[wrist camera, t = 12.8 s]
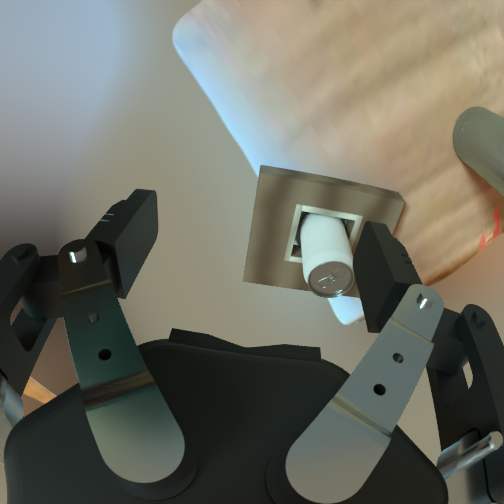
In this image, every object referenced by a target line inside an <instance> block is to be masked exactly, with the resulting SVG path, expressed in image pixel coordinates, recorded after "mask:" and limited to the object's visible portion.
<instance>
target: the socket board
mask: <svg viewBox="0 0 504 504" xmlns="http://www.w3.org/2000/svg"><path fill="white" fill-rule="evenodd" d="M404 204H405V201H404V200H403V198H402V197H401V195H400V194H399V192H395V191H390V190H386V189H382V188H378V187H373V186H369V185H365V184H360V183H356V182H351V181H346V180H341V179H337V178H332V177H327V176H321V175H316V174H311V173H305V172H300V171H294V170H288V169H282V168H276V167H270V166H264V165H261V166H260V172H259V178H258V185H257V191H256V198H255V205H254V212H253V219H252V225H251V232H250V238H249V244H248V251H247V257H246V265H245V271H244V278H243V282H250V283H256V284H263V285H270V286H277V287H284V288H291V289H298V290H305V291H311V290H310V289H309V287H308V284H307V282H306V281H305V278H304V274H303V263H302V250H301V246H299V245H293V244H294V240H295V236H296V232H297V228H298V224H299V220H300V216H301V211H305V212H311V213H316V214H322V215H328V216H333V217H339V218H344V219H348V222H347V225H346V228H345V231H346V234H347V237H348V241H349V244H350V248H351V251H352V255H353V256H354V253H355V250H356V247H357V244H358V241H359V238H360V236H361V233H362V230H363V227H364V224H365V223H366V221H374V222H379V223H384V224H386V225H387V227H388V229H389V231H390V233H391V235H392V234H393V232H394V229H395V227H396V224H397V222H398V219H399V217H400V214H401V212H402V209H403V207H404ZM342 296H350V297H358V298H360V295H359V291H358V287H357V283H356V279H355V275H354V283H353V285H352V287H351V288H350V289H349V290H348V291H347V292H346V293H344V294H342Z"/></svg>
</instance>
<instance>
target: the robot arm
mask: <svg viewBox="0 0 504 504" xmlns="http://www.w3.org/2000/svg"><path fill="white" fill-rule="evenodd" d="M453 143H454V148H455V151H456V153H457V155H458V157H459V158H460V159H461V160H462V161H463V162H464V163H465V164H467V165H468V166H469V167H470V168H472V169H473V170H474V171H475V172H476V173H477V174H479V175H480V176H481V177H482V178H483V179H484V180H486V181H487V182H488V183H489V184H490V185H491V186H492V187H493V188H495V189H496V190H497V191H498V192H499V193H500V194H501V195H502V196H503V197H504V117H502V116H500V115H498V114H496V113H493V112H491V111H489V110H487V109H485V108H481V107H473V108H470V109H468V110H466V111H465V112H464V113H463V114H462V115H461V116H460V117H459V119H458V120H457V122H456V125H455V128H454V133H453ZM157 234H158V211H157V195H156V192H155V190H145V189H136V190H135V191H134V192H133V193H132V194H131V195H130V196H129V197H128V199H127V200H121V201H120V202H118V203H116V204H114V205H113V206H112V207H111V208H110V209H109V210H108V211H107V212H106V215H104V216H103V217H102V218H101V221H99V222H98V223H97V224H96V225H95V227H94V228H93V229H92V230H91V231H90V233H89V234H88V235H87V237H86V238H85V239H76V240H73V241H70V242H68V243H66V244H65V245H64V246H63V247H61V248H60V250H59V252H58V254H57V255H49V256H39V253H38V250H37V248H36V246H35V245H33V244H29V243H25V244H20V245H17V246H15V247H13V248H11V249H10V250H9V251H8V252H7V253H6V254H5V255H4V256H3V257H2V259H1V260H0V464H1V465H3V466H4V468H5V474H6V482H7V504H504V345H503V343H502V341H501V339H500V336H499V334H498V331H497V329H496V327H495V325H494V322H493V320H492V318H491V317H490V315H489V314H488V313H487V312H486V311H485V310H484V309H482V308H481V307H479V306H477V305H474V304H468V305H467V306H465V308H464V309H463V311H462V312H461V314H460V313H457V312H454V311H452V310H449V309H446V308H444V303H443V300H442V299H441V297H440V296H439V294H438V293H437V292H435V291H434V290H433V289H431V288H429V287H428V286H425V285H423V284H422V282H421V280H420V278H419V276H418V274H417V272H416V269H415V267H414V265H413V264H412V261H411V259H410V257H408V256H409V255H408V253H407V251H406V249H405V247H404V246H403V245H402V244H401V243H400V242H399V241H398V240H397V239H396V238H393V237H392V235H391V233H390V231H389V229H388V227H387V225H386V224H384V223H379V222H374V221H366V223H365V224H364V227H363V230H362V233H361V236H360V238H359V241H358V244H357V247H356V250H355V253H354V256H353V271H354V275H355V279H356V283H357V287H358V291H359V295H360V299H361V303H362V307H363V311H364V316H365V320H366V324H367V329H368V332H371V333H380V334H379V335H378V337H377V338H376V340H375V341H374V343H373V344H372V346H371V347H370V349H369V350H368V351H367V353H366V354H365V356H364V357H363V359H362V360H361V361H360V363H359V364H358V366H357V367H356V368H355V370H354V371H353V372H352V374H351V375H350V374H349V373H348V372H346V371H345V370H344V369H342V368H341V367H339V366H337V365H335V364H333V363H331V362H329V361H326V360H324V359H321V352H320V347H308V346H298V345H288V344H282V345H272V346H261V347H248V348H247V347H242V346H239V345H236V344H233V343H231V342H228V341H225V340H222V339H219V338H217V337H214V336H211V335H209V334H204V333H197V332H192V331H186V330H180V329H174V328H172V330H171V333H170V336H169V339H160V340H154V341H150V342H146V343H143V344H140V345H138V346H137V345H136V342H135V340H134V338H133V335H132V333H131V331H130V328H129V326H128V323H127V321H126V319H125V316H124V314H123V311H122V309H121V306H120V303H119V301H118V298H122V299H126V297H127V295H128V292H129V291H130V289H131V287H132V285H133V283H134V281H135V279H136V277H137V275H138V273H139V271H140V269H141V267H142V265H143V264H144V262H145V260H146V258H147V256H148V254H149V252H150V250H151V249H152V247H153V245H154V243H155V241H156V238H157ZM18 301H20V303H21V306H22V309H21V310H20V312H19V314H18V315H17V317H16V319H15V320H14V322H13V324H12V326H11V325H10V317H11V313H12V311H13V310H14V308H15V306H16V304H17V303H18ZM58 317H63V318H64V323H65V328H66V333H67V337H68V342H69V346H70V350H71V355H72V358H73V362H74V366H75V370H76V373H77V377H78V381H79V383H77V384H76V385H74V386H72V387H71V388H69V389H68V390H66V391H65V392H63V393H62V394H60V395H58V396H57V397H55V398H54V399H52V400H50V401H49V402H47V403H46V404H44V405H42V406H41V407H39V408H38V409H36V410H35V411H33V412H31V413H30V414H28V415H27V416H25V417H24V416H23V412H24V407H23V406H24V405H23V401H22V398H21V396H22V393H23V391H24V389H25V386H26V384H27V382H28V379H29V377H30V374H31V372H32V370H33V368H34V366H35V363H36V361H37V359H38V357H39V354H40V352H41V350H42V348H43V346H44V344H45V342H46V340H47V338H48V336H49V334H50V332H51V330H52V328H53V326H54V324H55V322H56V320H57V318H58ZM468 361H469V364H470V367H471V370H472V374H473V381H472V385H471V387H470V388H469V389H468V385H467V382H466V378H465V375H464V371H463V367H464V365H465V364H466V363H467V362H468ZM425 366H426V369H427V373H428V378H429V382H430V387H431V392H432V397H433V402H434V407H435V413H436V419H437V424H438V431H439V438H440V445H441V454H440V455H439V457H438V460H437V467H436V466H435V465H434V464H433V463H432V462H431V461H430V460H429V459H428V458H427V457H426V455H425V454H424V453H423V452H422V451H421V450H420V449H419V448H418V447H417V446H416V445H415V444H414V442H413V441H412V440H411V439H410V438H409V437H408V436H407V435H406V434H405V433H404V432H403V431H402V430H401V428H400V427H399V426H398V425H397V422H398V421H399V419H400V417H401V415H402V413H403V411H404V409H405V407H406V405H407V404H408V402H409V399H410V397H411V396H412V394H413V391H414V390H415V387H416V385H417V383H418V381H419V379H420V377H421V375H422V372H423V370H424V368H425Z"/></svg>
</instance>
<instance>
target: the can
mask: <svg viewBox="0 0 504 504" xmlns="http://www.w3.org/2000/svg"><path fill="white" fill-rule="evenodd" d="M300 237H301V250H302V263H303V274H304V278H305V281H306V282H307V284H308V287H309V289H310V290H311V291H312V292H313V293H314V294H316V295H317V296H320V297H324V298H333V297H338V296H340V295H342V294H344V293H346V292H347V291H348V290H349V289H350V288H351V287H352V285H353V283H354V271H353V255H352V251H351V248H350V244H349V241H348V237H347V234H346V231H345V227H344V224H343V221H342V219H341V218H339V217H333V216H328V215H322V214H316V213H311V212H310V213H309V214H307V215H306V216H305V217H304V219H303V220H302V222H301V225H300Z"/></svg>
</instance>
